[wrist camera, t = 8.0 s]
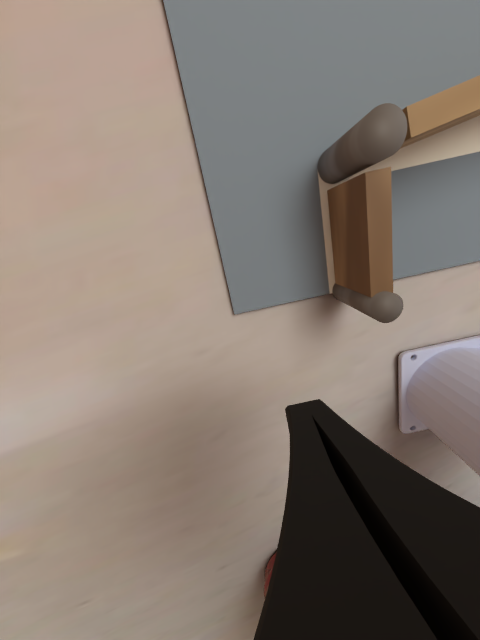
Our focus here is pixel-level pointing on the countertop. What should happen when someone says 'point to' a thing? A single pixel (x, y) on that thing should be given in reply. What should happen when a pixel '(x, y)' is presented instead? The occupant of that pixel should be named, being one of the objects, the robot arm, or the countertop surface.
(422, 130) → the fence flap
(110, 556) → the countertop surface
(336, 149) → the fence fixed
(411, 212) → the mat
